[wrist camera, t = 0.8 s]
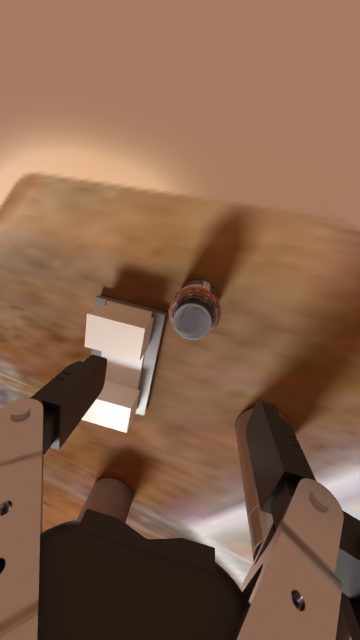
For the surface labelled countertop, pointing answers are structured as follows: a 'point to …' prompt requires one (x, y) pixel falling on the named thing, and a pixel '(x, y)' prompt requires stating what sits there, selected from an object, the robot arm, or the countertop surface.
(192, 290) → the supplement bottle
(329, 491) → the robot arm
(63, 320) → the countertop surface
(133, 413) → the rail board
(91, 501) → the pillar candle
